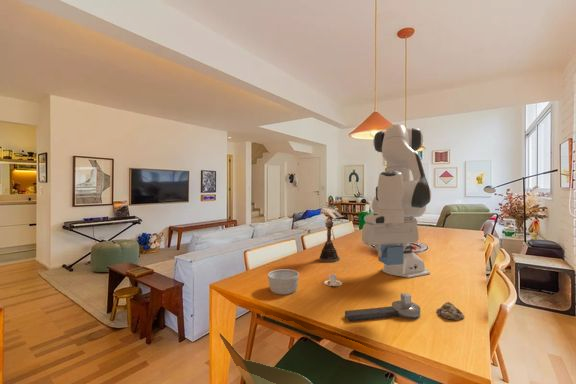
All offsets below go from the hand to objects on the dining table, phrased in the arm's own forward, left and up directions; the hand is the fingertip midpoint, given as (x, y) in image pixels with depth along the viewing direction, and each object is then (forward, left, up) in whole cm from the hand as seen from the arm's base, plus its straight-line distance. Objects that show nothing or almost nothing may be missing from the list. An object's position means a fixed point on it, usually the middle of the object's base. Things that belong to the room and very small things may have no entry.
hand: (390, 256), depth 96 cm
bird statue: (-5, -66, -19) cm, 69 cm away
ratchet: (+5, +3, -19) cm, 20 cm away
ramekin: (+33, -27, -19) cm, 47 cm away
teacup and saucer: (+13, -29, -20) cm, 38 cm away
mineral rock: (-18, +7, -20) cm, 28 cm away
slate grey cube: (0, 0, -2) cm, 2 cm away
